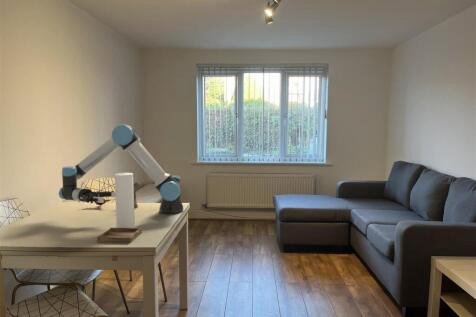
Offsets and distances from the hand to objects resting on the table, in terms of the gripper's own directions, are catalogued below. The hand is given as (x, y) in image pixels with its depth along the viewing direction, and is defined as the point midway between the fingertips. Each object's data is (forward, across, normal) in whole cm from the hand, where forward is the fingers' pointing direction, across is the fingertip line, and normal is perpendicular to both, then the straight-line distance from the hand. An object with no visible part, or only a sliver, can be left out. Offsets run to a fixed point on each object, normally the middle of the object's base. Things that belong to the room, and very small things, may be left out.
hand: (112, 197), depth 200 cm
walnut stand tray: (+17, +14, -16) cm, 27 cm away
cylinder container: (+8, 0, -16) cm, 18 cm away
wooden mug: (-19, -39, -16) cm, 46 cm away
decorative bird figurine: (-39, -32, -16) cm, 53 cm away
